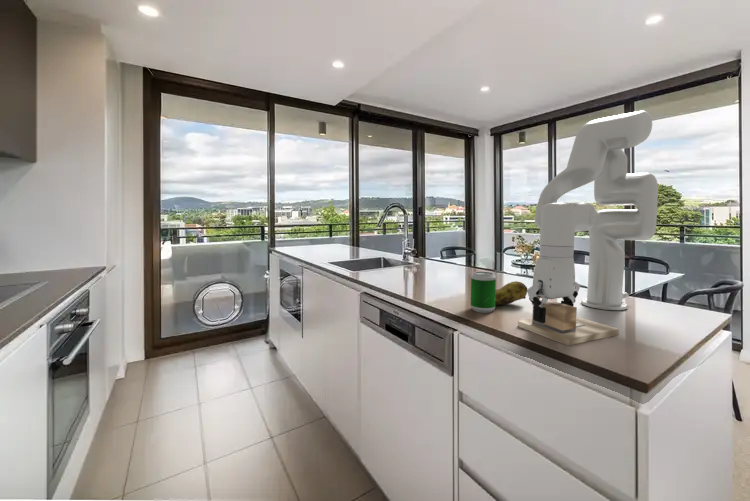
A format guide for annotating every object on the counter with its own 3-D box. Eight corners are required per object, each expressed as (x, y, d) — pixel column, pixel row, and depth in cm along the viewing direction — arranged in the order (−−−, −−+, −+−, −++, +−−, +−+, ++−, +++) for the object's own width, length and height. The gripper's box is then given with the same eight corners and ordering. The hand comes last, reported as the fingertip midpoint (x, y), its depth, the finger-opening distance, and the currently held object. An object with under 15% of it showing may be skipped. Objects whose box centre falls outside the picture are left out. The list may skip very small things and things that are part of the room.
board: (564, 318, 98) (564, 313, 98) (618, 334, 84) (618, 328, 84) (517, 326, 91) (518, 320, 91) (568, 345, 78) (568, 339, 77)
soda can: (496, 314, 103) (497, 275, 102) (471, 312, 104) (472, 274, 103) (493, 307, 110) (494, 271, 109) (469, 306, 112) (470, 270, 110)
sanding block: (544, 320, 91) (545, 299, 90) (575, 331, 83) (576, 307, 82) (532, 322, 89) (533, 300, 88) (562, 333, 81) (563, 309, 80)
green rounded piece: (485, 300, 119) (486, 278, 118) (524, 302, 116) (525, 280, 115) (487, 306, 111) (488, 283, 110) (529, 309, 108) (530, 284, 107)
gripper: (566, 249, 91) (563, 311, 92) (518, 252, 84) (515, 319, 86) (594, 252, 84) (590, 319, 85) (543, 255, 77) (540, 328, 79)
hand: (553, 319), depth 86 cm, fingers open, 9 cm apart
